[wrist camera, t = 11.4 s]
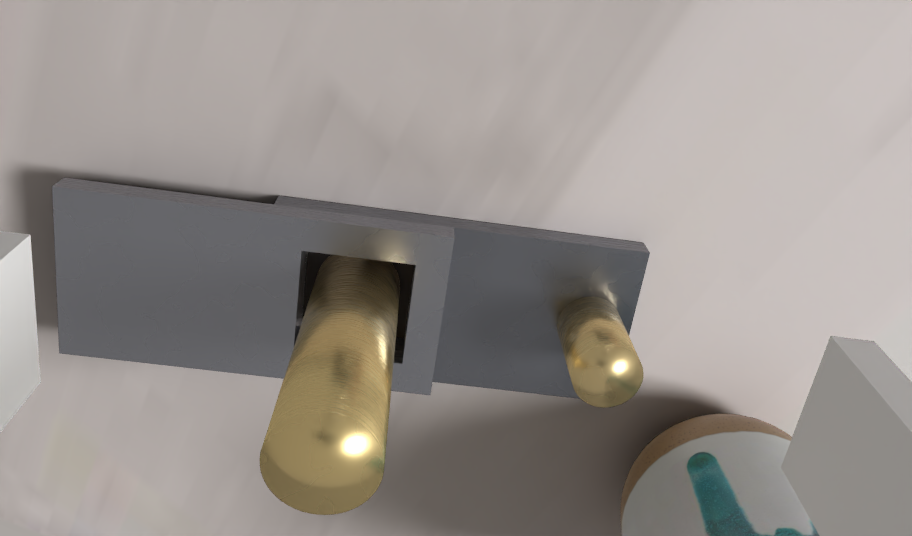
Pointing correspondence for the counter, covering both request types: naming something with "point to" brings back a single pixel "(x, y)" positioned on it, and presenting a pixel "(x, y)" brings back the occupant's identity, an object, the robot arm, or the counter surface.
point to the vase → (713, 482)
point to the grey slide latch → (354, 235)
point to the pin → (336, 391)
